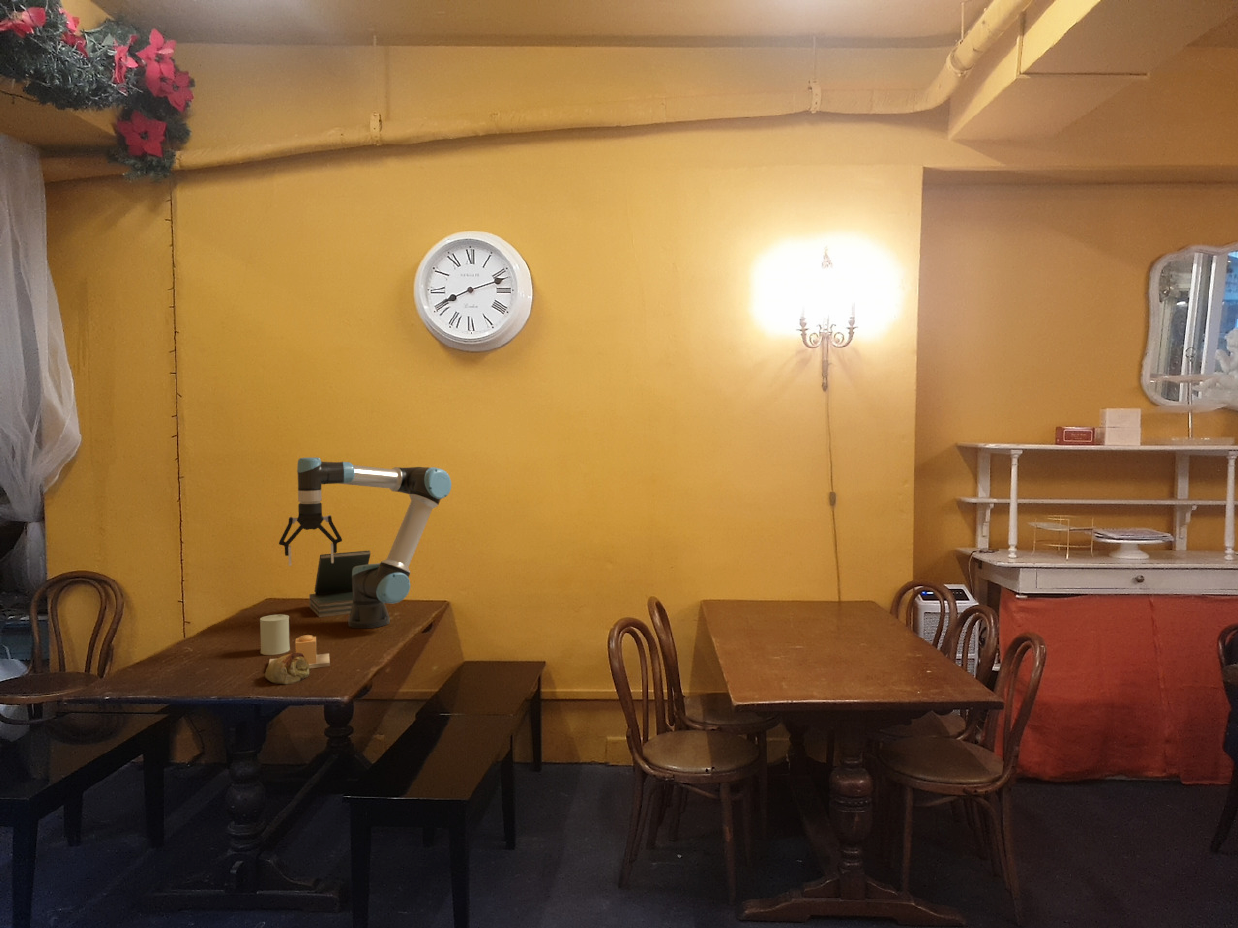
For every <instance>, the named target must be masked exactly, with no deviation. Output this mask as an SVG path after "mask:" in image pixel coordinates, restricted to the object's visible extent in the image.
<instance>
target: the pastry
mask: <svg viewBox="0 0 1238 928" xmlns="http://www.w3.org/2000/svg"><path fill="white" fill-rule="evenodd" d="M274 659H275V660H274V661H272V662H271V663H270V664H269V663H268V665H267V667H266V669H265V673H264V676H265V679H267V681H268V682H271V683H272V684H279V685H293V684H295V683H296V684H297V683H300V681H302V680H304V679H305V678H308V677H309V675H310V668H309V663H308V661H307V659H306V658H305V656H304V655H303V654H302V653H296V652H292V653H291V652H290V653H288V654H287V653H286V654H284V655H282V656H279V657H278V659H277V658H274Z"/></svg>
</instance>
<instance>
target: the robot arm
mask: <svg viewBox="0 0 1238 928" xmlns="http://www.w3.org/2000/svg"><path fill="white" fill-rule="evenodd" d="M296 468H297V469H296V473H297V501H298V502H299V504H297V506H298V509H297V510H298V517H292V516H290V517H289V518H288V524H287V525H286V528H285V530H284V532H283V533H282V535H281V537H280V539H279V542H278V545H280V546H283V547H284V555H285V556H286V557H288V567H291V566H292V545H291V543H292V542H293V541H294V540H295V539H296V538H297V536H298V535H299V534H300V533H301V531H302V530H305V531H308V530H314V531H315V530H317V529H318V530H320V531H321V532H322V533H323V534H324V536H325V537H326V538H328V540H329V541H330V542H331V543H330V554H331V563H334V558H333V554H334V553H338V551H337V550H338V544H339V543H340V542H342V541H343V538H342V536H341V534H340V533H339V531H338V530H337V529H338V528H337V527H336V525H335V524H334V522H333V519H332V518H333V517H332V515H327V516H325V515H324V516H323V508H322V507H323V506H322V504H323V503H322V502H321V501H322V485H332V484H333V485H335V484H338V485H340V484H341V485H348V486H349V485H350V486H360V487H369V488H380V489H381V488H382V489H389V490H390V491H391V492H397V493H403V494H406V495H409V498H410V503H409V505H408V508H407V510H406V512H405V515H404V517H403V520H402V522H401V525H400V526H399V528H398V530H397V533H396V536H395V538H394V540H393V542H392V544H391V545H392V546H391V549H390V550H389V553H388V555H387V557H386V558H385V559H384V560H382V561H380V563H379V562H377V563H368V564H367V565H360V566H355V567H354V568H353V570H352V588H353V606H352V610H351V613H350V614H349V616H348V620H347V622H348V627H350V628H353V629H373V628H374V629H375V628H380V627H385V626H387V625H389V624H390V622H391V621H390V615H389V612H388V609H387V606H386V604H398V603H400V602H401V601H403V600H405V598H406V597H407V596H408V595H409V592H410V590H411V583H410V582H411V580H410V575H411V570H410V565H411V562H412V559H413V557H414V556H415V555H414V554H415V552H416V550H417V547H418V546H419V543H420V540H421V537H422V536H423V532H424V531H425V528H426V526H427V523H428V521H429V518H430V517H431V516H430V515H431V513H432V511H433V509H435V508H438V507H439V505H440V502H441V500H442V499H444V498H447V497H448V495H449V494H450V492H451V489H452V480H451V477H450V475H449V474H448V472H447V471H445V470H444V469H442V468H438V467H435V466H434V467H433V466H431V467H422V466H413V467H412V466H411V467H397V466H394V467H393V468H384V467H374V466H367V465H365V466H364V465H358V464H357V465H356V464H353V463H352V462H349V461H336V462H335V461H322V460H321V458H320V457H300V458H298V460H297V467H296ZM323 521H325V522H326V523H328V525H329V526H330V529H331V530H332V532H333V534H334V535H335V537H336V538H334V536H333V535H332V534H331V533H330V532H329V531H328V530H327V529H326V528H325V527H324V526H323V525H322V523H323ZM296 522H297V523H298V524H299V526H298V527H297V529H296V530H295V531H294V532H293V533H292V535H290V537H289V538H288V539H287V540H286V537H287V536H288V534H289V532H290V531H291V528H292V526H293V525H294V524H295V523H296ZM285 540H286V541H285Z"/></svg>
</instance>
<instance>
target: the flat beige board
mask: <svg viewBox="0 0 1238 928" xmlns="http://www.w3.org/2000/svg"><path fill="white" fill-rule="evenodd" d="M316 656H317V659H316V663H313V664H309V669H315V668H316V669H317V668H328V667H330V666H331V663H330V653H329V652H328V653H321V654H318V653H317V654H316ZM278 658H279V657H278ZM278 658H269V660H268V661H269V662H268V665H269V664H270V663H271V662H272V661H274V660H275V659H278Z"/></svg>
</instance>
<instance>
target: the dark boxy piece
mask: <svg viewBox="0 0 1238 928" xmlns="http://www.w3.org/2000/svg"><path fill="white" fill-rule="evenodd" d="M370 557H371V551H370V550H358V551H347V552H336V553H333V558H334V563H331V553H326V554H323V553H322V554H320V555H319V560H318V566H317V574H316V578H315V579H316V580H315V585H314V593H309V609H311V610H312V612H314V614H315V615H316V616H317V617H318V618H325V617H333V616H341V615H350V613H351V610H352V606H353V588H352V570H353V568H354V567H355V566H360V565H367V564H370V563H369V562H370Z"/></svg>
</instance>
